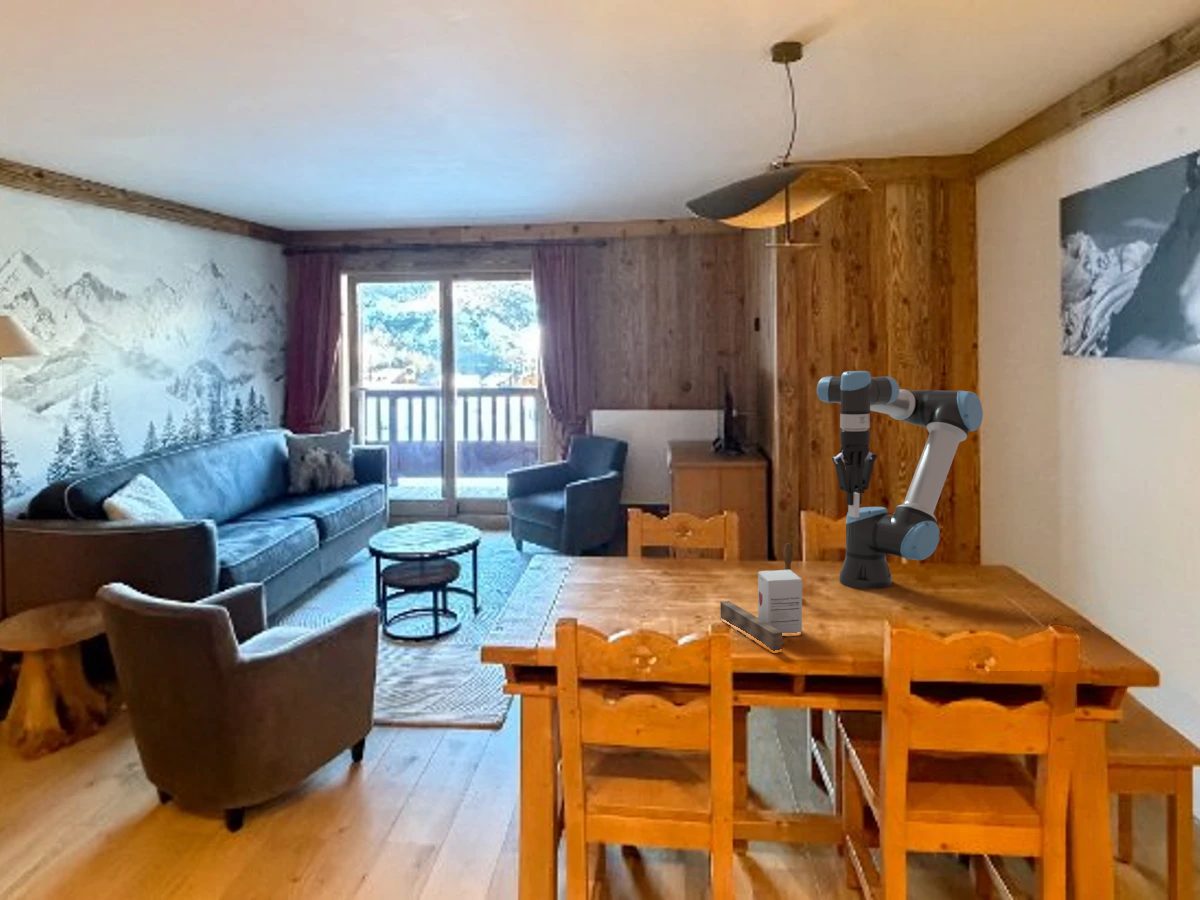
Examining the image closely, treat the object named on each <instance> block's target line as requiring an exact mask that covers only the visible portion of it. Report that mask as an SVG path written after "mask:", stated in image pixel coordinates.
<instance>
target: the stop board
mask: <svg viewBox="0 0 1200 900" xmlns="http://www.w3.org/2000/svg"><path fill="white" fill-rule="evenodd" d="M721 618H722V619H724V620H726V621H727V622H729V623H730V624H732V625H734V626H736V627H738V628H740V629H741V630H743V631H745V632H746V633H748V634H750V635H751V636H753V637H754V638H756V639H757V640H759V641H761V642H762V643H763V644H765V645H766V646H767V647H769V648H770V649H771V650H773V651H775V650H780V649H782V650H783V637H782V632H781V631H779V630H778V629H776V628H774V627H773V626H771V625H769V624H767V623H766V622H764V621H762V620H761V619H759V618H758V616H755V615H754V614H752V613H750V612H748V611H746V610H745V609H743V608H742V607H740V606H739V605H737V604H735V603H733V602H732V601H730V600H725V601H720V619H721Z"/></svg>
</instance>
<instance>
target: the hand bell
mask: <svg viewBox="0 0 1200 900" xmlns="http://www.w3.org/2000/svg"><path fill="white" fill-rule="evenodd" d="M793 553H794V552H793V548H792V545H791V542H787V543H786V544H785V546H784V549H783V560H784V564H785V565H784V566H785V567H784V570H791V571H792V569H791V566H792V560H793V556H794V555H793Z"/></svg>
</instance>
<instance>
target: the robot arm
mask: <svg viewBox="0 0 1200 900" xmlns="http://www.w3.org/2000/svg"><path fill="white" fill-rule="evenodd" d="M816 387H817V388H816V394H817V398H818V399H819V400H820V401H821V402H823V403H829V404H834V403H835V404H840V415H839V418H840V420H839V428H840V429H841V430H840V431H839V435H840V436H839V443H840V445H841V447H840V450H839V453H838V454H837V455H836V456H832V458H831V460H832V462H833V463H834V466H835V470H836V474H837V475H836V476H837V480H838V481H837V482H838V487H839V490H840V491H843V492H845V494H846V505H848V507H847V508H848V509H847V511H848V512H847V513H846V518H845V519H846V520H845V558H844V560H843V564H842V567H841V571H840V573H839V582H840V583H841V584H842V585H844V586H846V587H849V588H854V589H862V590H880V589H881V590H882V589H887V588H889V587H891V586H892V584H893V582H892V581H893V578H892V574H891V570H890V567H889V564H888V561H887V555H890V556H894V557H895V556H896V557H897V558H898V557H899V558H904V559H905V560H914V561H915V560H916V561H924V560H925V559H928V558H930V557H931V556H932V555H933V554H934V552H935V550H936V549H937V547H938V544H939V542H940V536H939V535H940V534H941V533H940V532H941V531H940V528H939V525H938V524H937V521H938V520H937V517H936V516H935V514H934V512H935V510H936V507H937V505H938V501H939V498H940V497H941V493H942V490H943V488H944V485H945V482H946V479H947V476H948V475H949V471H950V468H951V467H952V463H953V460H954V457H955V455H956V454H957V453H956V452H957V450H958V448H959V447H958V446H959V444H960V443H961V442H964V441H966V440H967V438H968V435H969V432H974V431H977V430H978V429H980V427H981V425H982V422H983V416H984V415H983V414H984V413H983V405H982V402H981V399H980V398H979V396H978V395H977V394H976V393H975V392H972V391H967V390H961V389H960V390H940V389H939V390H938V389H920V390H918V389H917V390H915V389H914V390H913V389H911V390H909V389H904V388H903V389H902V388H900V386H899V383H898V382H897V380H896V379H895V378H893V377H891V376H885V375H883V376H871V372H870V371H867V370H852V371H851V370H850V371H843V373H842V374H841V376H834V375H831V376H824V377H821V379H819V381H818V383H817V385H816ZM871 412H875V413H876V412H877V413H881V414H885V415H888V416H890V418H892V419H894V420H896V421H897V420H898V421H899V422H904V423H908V424H911V425H913V426H919V427H922V428H926V430H927V432H928V433H929V434H928V437H927V439H926V442H925V445H924V448H923V450H922V453H921V455H920V457H919V461H918V463H917V466H916V469H915V471H914V474H913V477H912V479H911V482H910V485H909V487H908V490H907V492H906V496H905V499H904V501H903V503H901V504H899V505H896V507H895V509H894V512H893V514H889V513H888V512H889V511H888V509H887V508H886V507H884V506H863V507H860V505H861V504H862V498H863V497H862V494H864V493H865V492H866V491H867V490H868V489H869V486H870V482H871V478H872V472H873V467H874V463H875V461H876V459H877V457H878V455H877V454H876V453H872V452H870V447H869V444H870V441H871V440H870V438H871V437H870V436H871V431H870V430H869V429H870V428H871Z"/></svg>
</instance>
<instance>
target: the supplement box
mask: <svg viewBox="0 0 1200 900" xmlns="http://www.w3.org/2000/svg"><path fill="white" fill-rule="evenodd" d="M757 575H758V576H757V579H758V580H757V583H758V585H757V586H758V587H757V593H758V595H757V598H758V600H757V601H758V602H757V604H758V607H757V609H758V610H757V611H758V616H757V618H759V619H761V620H762V621H764V622H766V623H767V624H769V625H771V626H773V627H774V628H776V629H778V630H779V631H781V632H782V633H797V632H803V579H802V578H801V577H800V576H798V574H796V573H794V571H792V569H791V570H785V569H779V570H778V569H777V570H776V569H775V570H760V571H758V573H757Z"/></svg>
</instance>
